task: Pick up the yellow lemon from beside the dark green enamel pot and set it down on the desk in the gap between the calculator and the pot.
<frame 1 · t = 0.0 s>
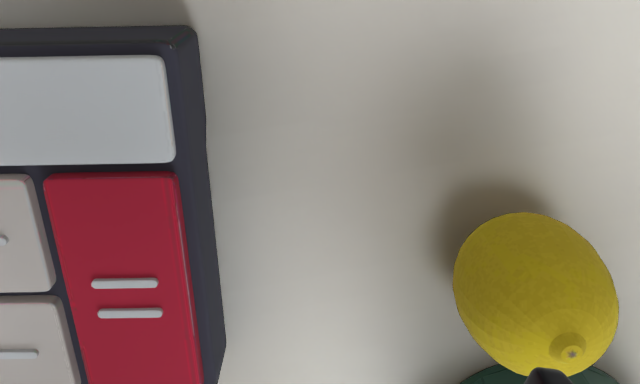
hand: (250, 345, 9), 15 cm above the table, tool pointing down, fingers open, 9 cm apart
calculator: (89, 206, 25), on the table
lemon: (496, 240, 26), on the table
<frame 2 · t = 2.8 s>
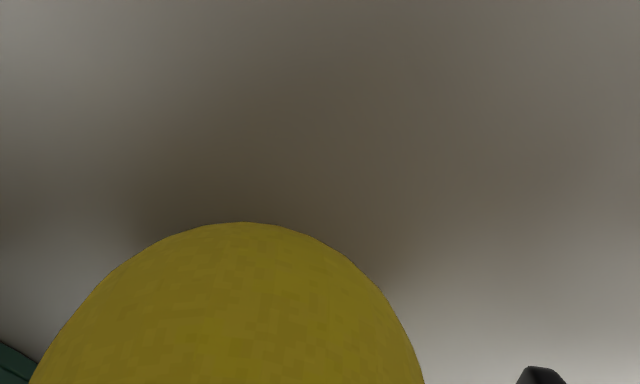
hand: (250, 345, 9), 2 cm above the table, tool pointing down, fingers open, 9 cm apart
lemon: (264, 247, 11), on the table
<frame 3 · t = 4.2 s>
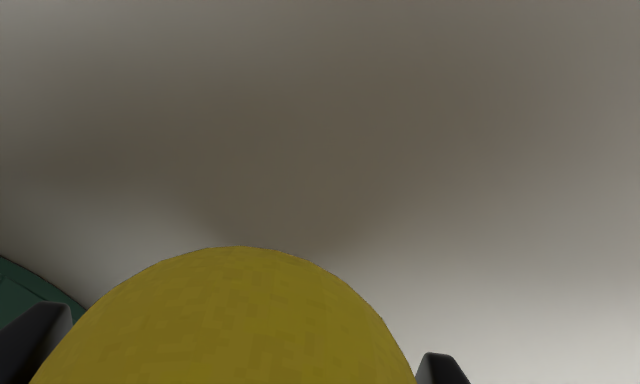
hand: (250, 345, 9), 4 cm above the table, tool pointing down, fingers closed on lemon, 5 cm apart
lemon: (264, 265, 11), point 2 cm above the table, touching gripper
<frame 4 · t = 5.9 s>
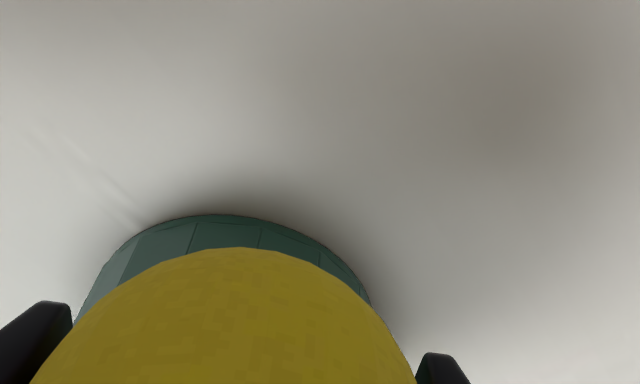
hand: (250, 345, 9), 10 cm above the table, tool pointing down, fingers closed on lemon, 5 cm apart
pot: (235, 322, 24), on the table
lemon: (265, 266, 11), point 8 cm above the table, touching gripper
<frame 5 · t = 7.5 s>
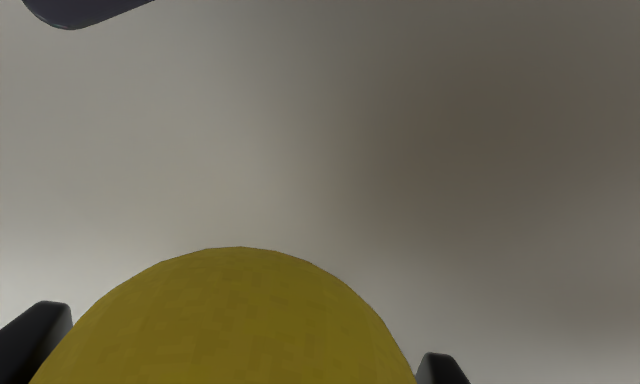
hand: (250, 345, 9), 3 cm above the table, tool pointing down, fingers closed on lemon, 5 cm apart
lemon: (264, 266, 11), point 1 cm above the table, touching gripper
when the fingers open (2 cm above the table, at t = 8.3 s): lemon stays where it is, on the table.
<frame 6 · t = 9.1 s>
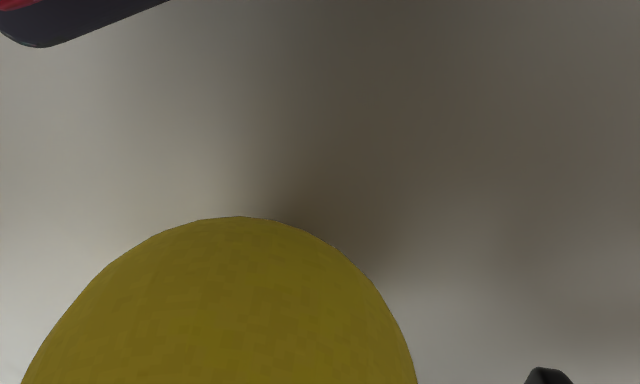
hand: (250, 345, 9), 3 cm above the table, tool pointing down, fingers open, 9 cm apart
lemon: (262, 242, 11), on the table
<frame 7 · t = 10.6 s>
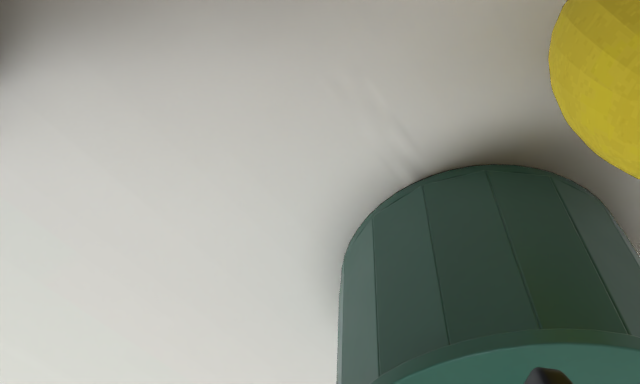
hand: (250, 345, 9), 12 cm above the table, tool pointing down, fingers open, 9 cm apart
pot: (477, 279, 24), on the table
lemon: (611, 6, 17), on the table
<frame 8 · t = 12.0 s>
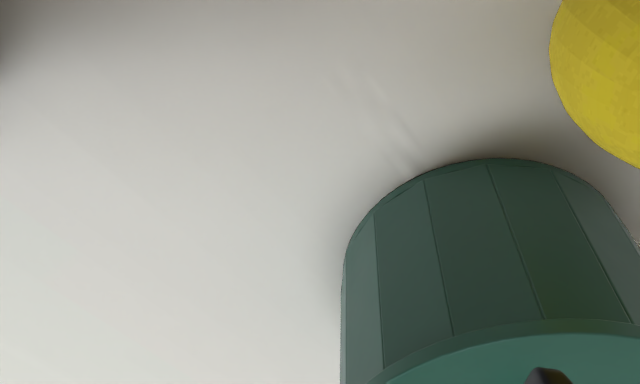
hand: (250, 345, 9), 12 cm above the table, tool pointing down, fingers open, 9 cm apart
pot: (479, 273, 24), on the table
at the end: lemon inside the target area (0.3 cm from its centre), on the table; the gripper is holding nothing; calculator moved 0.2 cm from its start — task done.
